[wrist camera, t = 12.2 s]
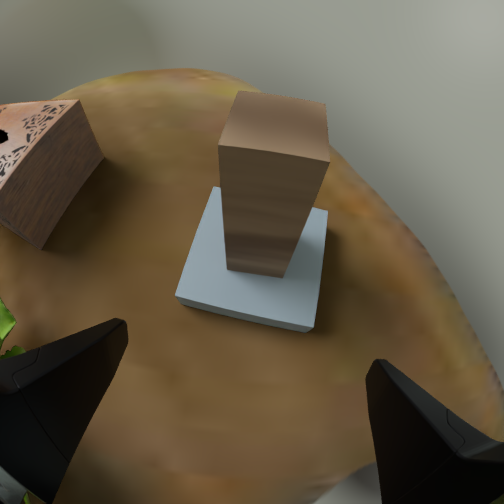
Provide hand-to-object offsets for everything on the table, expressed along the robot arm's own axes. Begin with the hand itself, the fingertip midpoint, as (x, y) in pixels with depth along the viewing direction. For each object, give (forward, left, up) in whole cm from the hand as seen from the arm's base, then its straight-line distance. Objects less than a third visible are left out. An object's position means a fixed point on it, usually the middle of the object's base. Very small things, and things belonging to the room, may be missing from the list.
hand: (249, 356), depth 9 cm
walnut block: (+10, +1, -11) cm, 15 cm away
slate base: (+10, +1, -14) cm, 17 cm away
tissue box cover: (+14, +37, -14) cm, 42 cm away
